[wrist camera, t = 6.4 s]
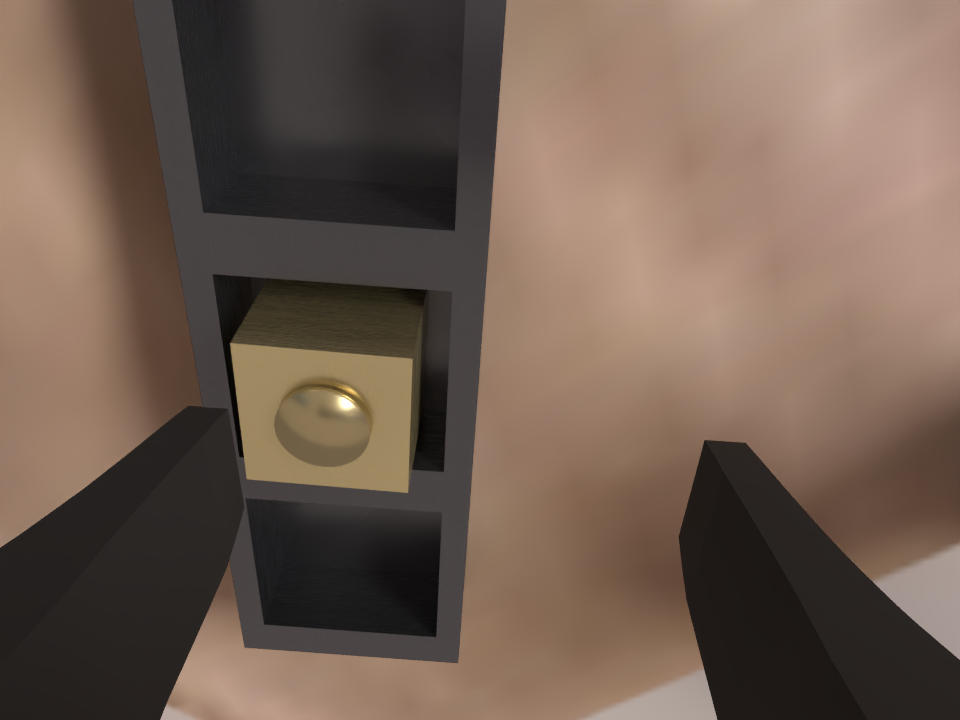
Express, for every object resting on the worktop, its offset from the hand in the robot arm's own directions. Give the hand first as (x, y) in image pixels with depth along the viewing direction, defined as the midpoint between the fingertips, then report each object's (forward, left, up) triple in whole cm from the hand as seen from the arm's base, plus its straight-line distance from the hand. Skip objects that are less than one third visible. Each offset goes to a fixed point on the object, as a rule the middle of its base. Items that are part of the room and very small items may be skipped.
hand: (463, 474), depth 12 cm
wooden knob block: (+3, +3, -9) cm, 10 cm away
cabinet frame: (+3, +3, -10) cm, 11 cm away
